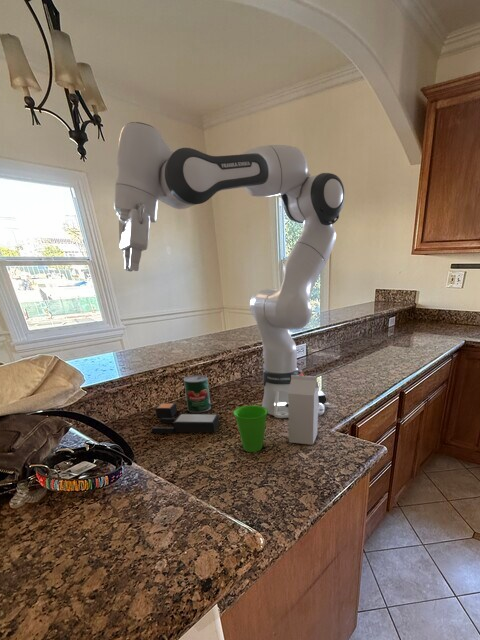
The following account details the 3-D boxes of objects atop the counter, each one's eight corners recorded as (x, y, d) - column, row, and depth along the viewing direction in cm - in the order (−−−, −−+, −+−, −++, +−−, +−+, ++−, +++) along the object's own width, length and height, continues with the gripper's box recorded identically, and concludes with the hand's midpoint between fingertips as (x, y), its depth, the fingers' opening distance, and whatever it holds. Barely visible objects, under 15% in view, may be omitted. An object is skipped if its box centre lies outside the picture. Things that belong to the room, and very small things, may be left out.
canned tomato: (194, 414, 119) (189, 383, 114) (183, 408, 124) (179, 377, 119) (215, 409, 124) (211, 378, 119) (204, 402, 129) (200, 373, 124)
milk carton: (313, 445, 100) (314, 380, 92) (288, 442, 101) (287, 378, 93) (317, 434, 106) (319, 373, 98) (294, 432, 107) (294, 371, 99)
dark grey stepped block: (219, 422, 113) (218, 413, 112) (213, 433, 106) (212, 423, 104) (162, 422, 113) (160, 412, 111) (152, 432, 106) (150, 422, 104)
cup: (276, 448, 98) (274, 411, 93) (249, 459, 92) (246, 421, 87) (256, 437, 104) (254, 402, 99) (230, 447, 98) (226, 410, 93)
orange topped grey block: (177, 412, 121) (175, 403, 119) (172, 417, 116) (170, 408, 115) (162, 411, 121) (160, 402, 119) (156, 417, 116) (155, 408, 115)
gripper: (159, 205, 75) (152, 274, 79) (143, 218, 91) (138, 274, 95) (126, 193, 72) (121, 265, 75) (116, 208, 87) (112, 267, 91)
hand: (130, 270), depth 85 cm, fingers open, 8 cm apart
